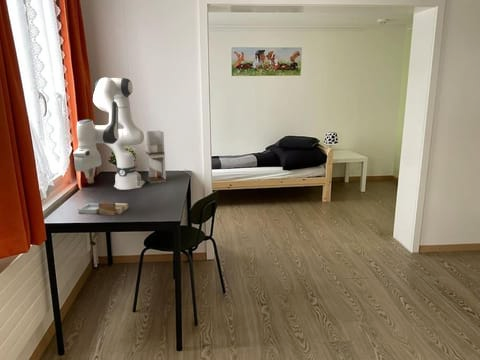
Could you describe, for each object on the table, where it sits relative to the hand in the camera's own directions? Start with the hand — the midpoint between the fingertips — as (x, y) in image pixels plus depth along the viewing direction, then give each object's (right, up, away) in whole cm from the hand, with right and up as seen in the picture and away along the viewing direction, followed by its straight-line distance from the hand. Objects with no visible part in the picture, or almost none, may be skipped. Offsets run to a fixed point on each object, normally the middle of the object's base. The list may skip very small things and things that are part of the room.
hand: (90, 177), depth 199 cm
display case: (+20, -2, +69) cm, 72 cm away
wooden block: (+10, -20, -2) cm, 22 cm away
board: (+11, -18, +4) cm, 22 cm away
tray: (0, -18, +3) cm, 19 cm away
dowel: (0, -3, +1) cm, 3 cm away
